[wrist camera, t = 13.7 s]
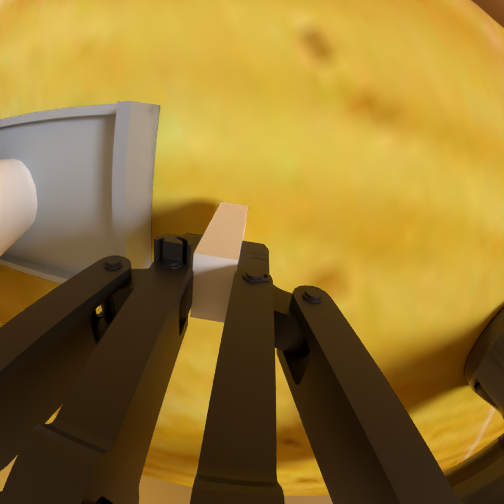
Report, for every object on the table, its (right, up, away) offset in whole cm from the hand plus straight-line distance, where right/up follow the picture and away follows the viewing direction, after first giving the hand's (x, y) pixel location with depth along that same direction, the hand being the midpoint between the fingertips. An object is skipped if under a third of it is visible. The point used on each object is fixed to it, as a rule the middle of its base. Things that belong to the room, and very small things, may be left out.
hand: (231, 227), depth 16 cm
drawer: (-15, +3, +1) cm, 16 cm away
